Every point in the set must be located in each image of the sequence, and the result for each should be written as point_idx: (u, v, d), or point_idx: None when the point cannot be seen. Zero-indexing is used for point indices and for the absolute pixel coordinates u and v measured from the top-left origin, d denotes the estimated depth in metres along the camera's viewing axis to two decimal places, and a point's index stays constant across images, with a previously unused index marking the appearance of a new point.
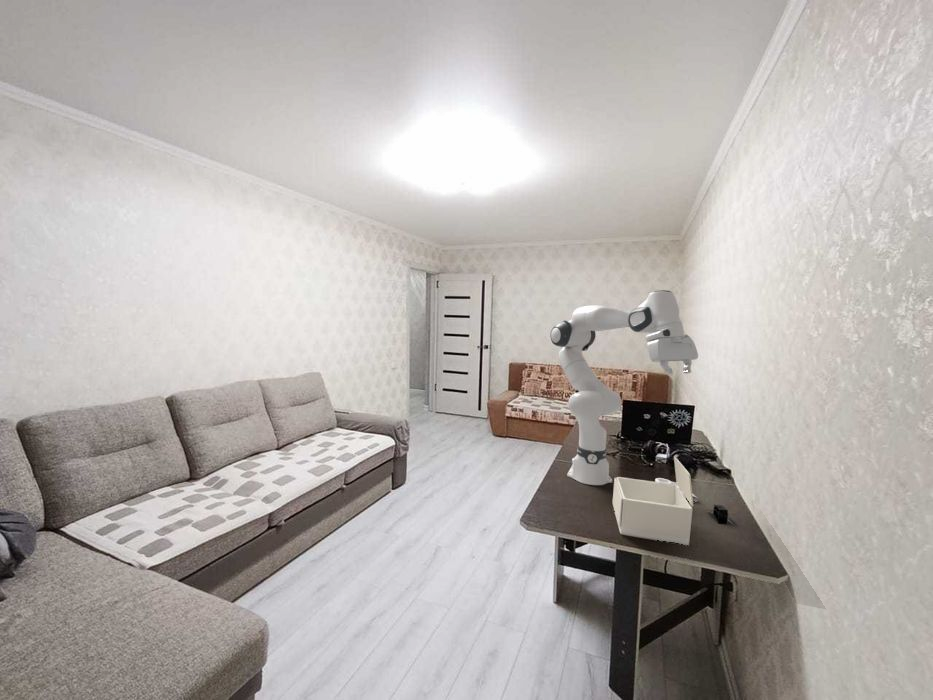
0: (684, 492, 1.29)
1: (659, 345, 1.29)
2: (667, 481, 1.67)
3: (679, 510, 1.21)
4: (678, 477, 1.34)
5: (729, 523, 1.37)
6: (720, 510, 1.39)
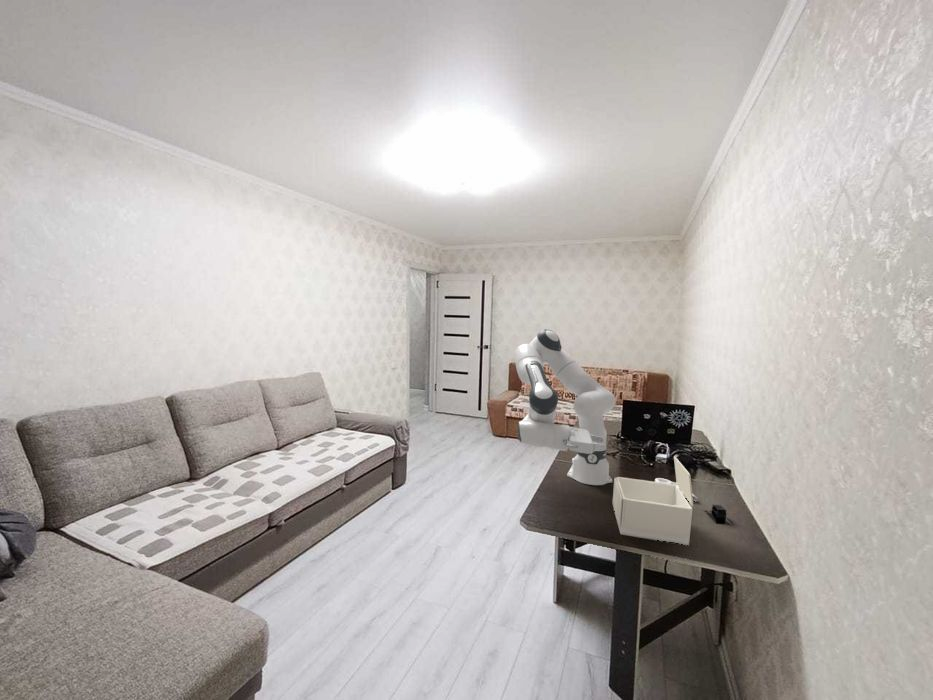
0: (684, 492, 1.29)
1: None
2: (667, 481, 1.67)
3: (679, 510, 1.21)
4: (678, 477, 1.34)
5: (727, 523, 1.37)
6: (718, 510, 1.39)
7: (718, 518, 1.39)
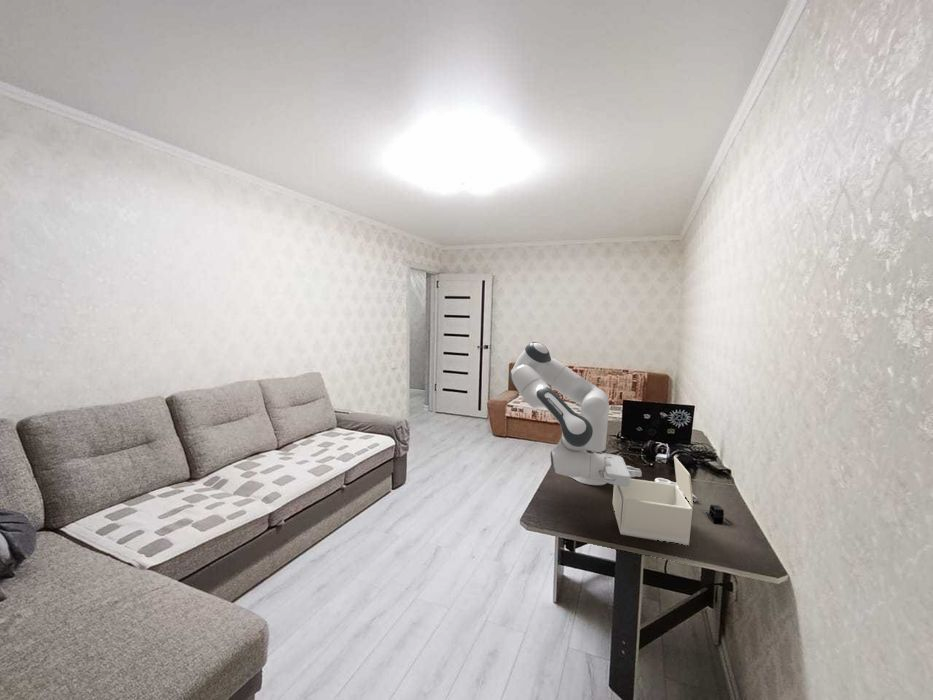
0: (684, 492, 1.29)
1: None
2: (667, 481, 1.67)
3: (679, 510, 1.21)
4: (678, 477, 1.34)
5: (725, 523, 1.37)
6: (716, 510, 1.39)
7: (716, 518, 1.39)
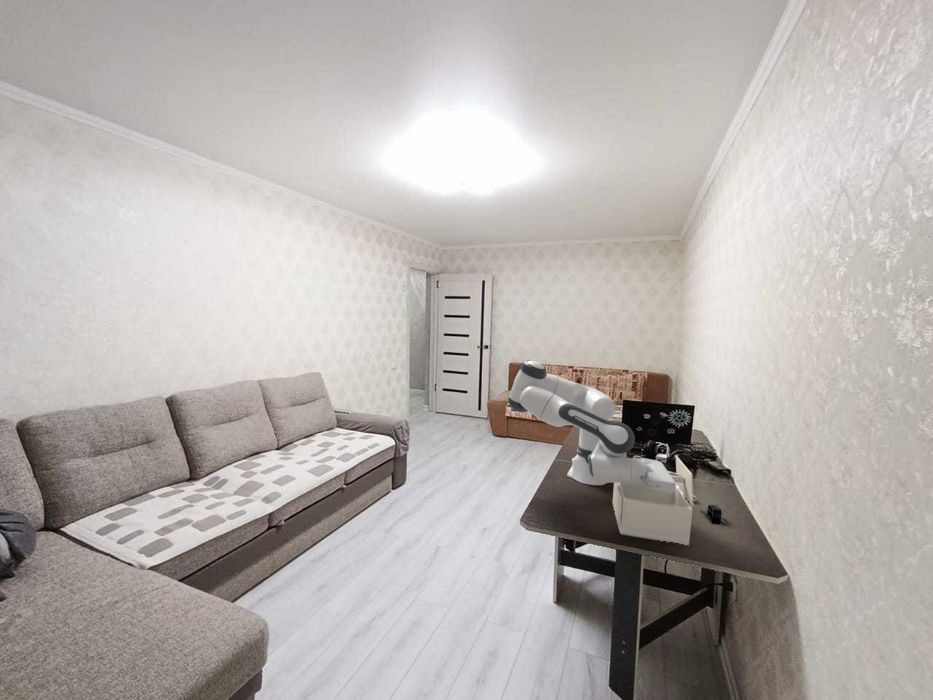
0: (684, 492, 1.29)
1: None
2: None
3: (679, 510, 1.21)
4: None
5: (722, 523, 1.37)
6: (714, 510, 1.39)
7: (713, 518, 1.39)
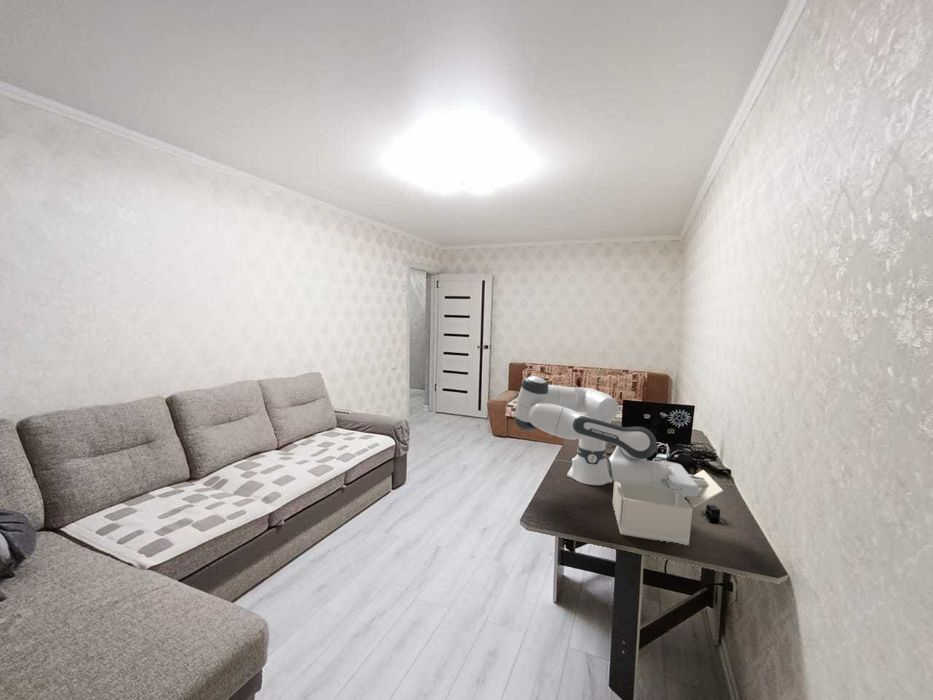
0: None
1: None
2: None
3: (679, 510, 1.21)
4: None
5: (721, 523, 1.37)
6: (712, 510, 1.39)
7: (712, 518, 1.39)
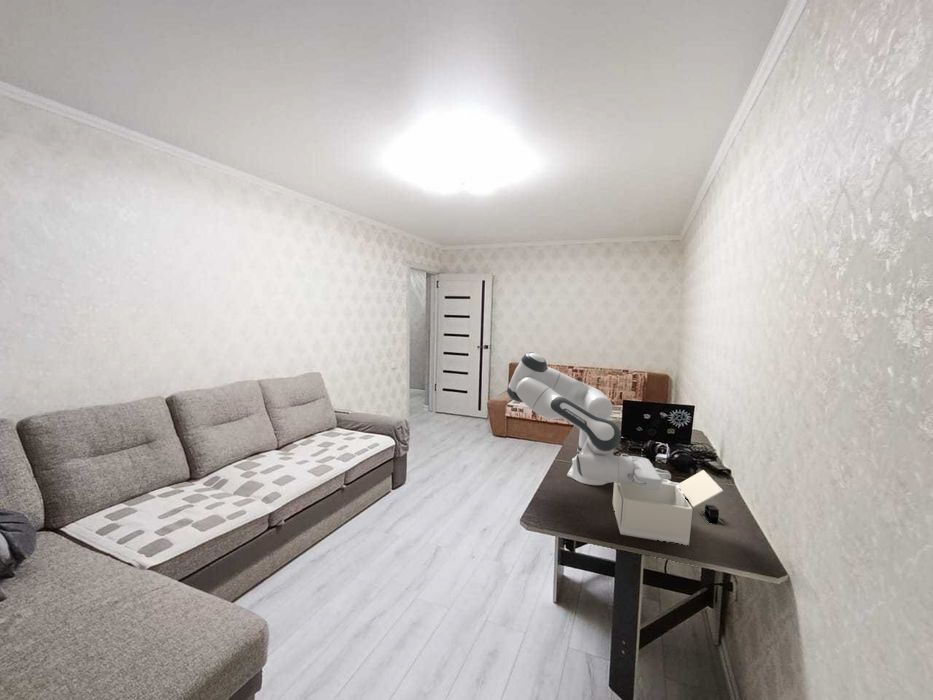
0: (688, 494, 1.28)
1: None
2: (667, 481, 1.67)
3: (679, 510, 1.21)
4: (690, 483, 1.34)
5: (720, 523, 1.37)
6: (711, 510, 1.39)
7: (710, 518, 1.39)
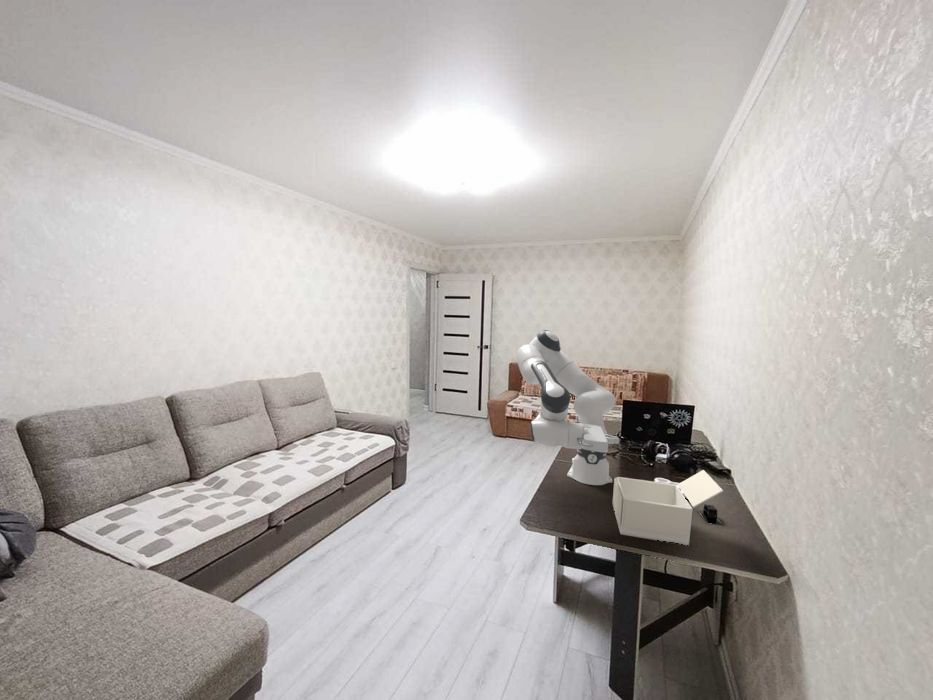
0: (688, 494, 1.28)
1: None
2: (667, 481, 1.67)
3: (679, 510, 1.21)
4: (690, 483, 1.34)
5: (718, 523, 1.37)
6: (709, 510, 1.39)
7: (709, 518, 1.39)
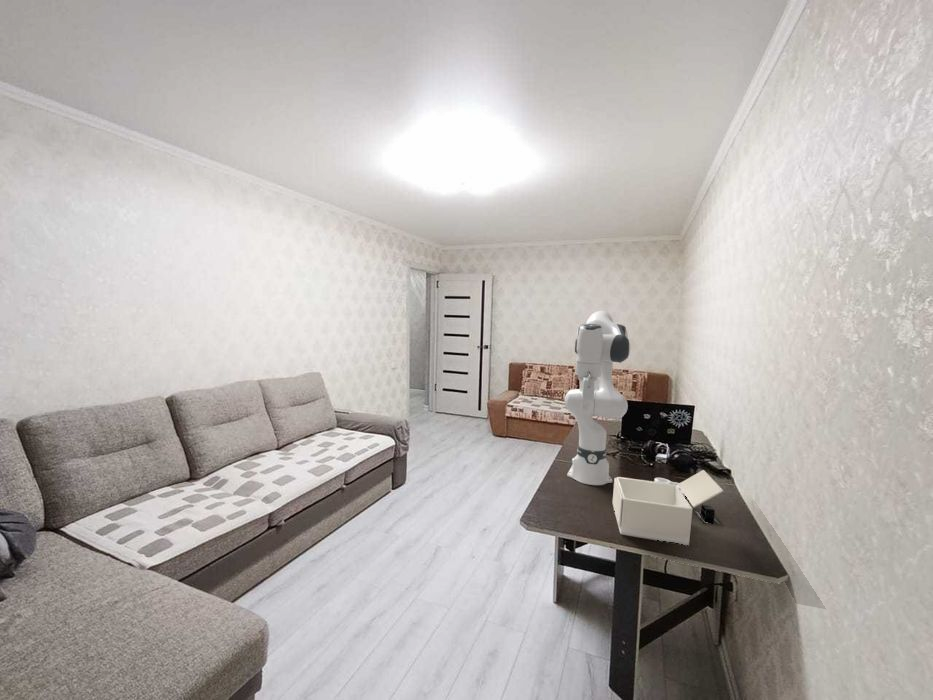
0: (688, 494, 1.28)
1: None
2: (667, 481, 1.67)
3: (679, 510, 1.21)
4: (690, 483, 1.34)
5: (715, 523, 1.37)
6: (707, 510, 1.39)
7: (706, 518, 1.39)
